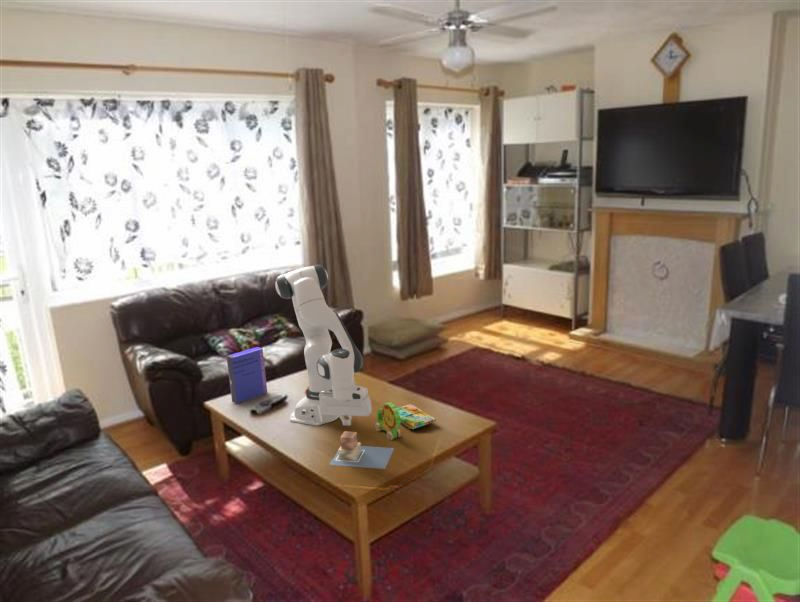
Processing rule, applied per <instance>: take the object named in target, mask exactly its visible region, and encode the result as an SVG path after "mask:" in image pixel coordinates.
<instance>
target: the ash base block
mask: <svg viewBox="0 0 800 602" xmlns="http://www.w3.org/2000/svg"><path fill="white" fill-rule="evenodd" d="M357 443H358V444H357V445H356V447H355V448H354V450H348V449H341V445H340V447H339V448H338V449H337V452H338V453H339V459H342V460H357V458H358V457H359V455H360V453H361V446H362V443H361V442H360V441H359V442H358V441H357Z"/></svg>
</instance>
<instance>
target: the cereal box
mask: <svg viewBox="0 0 800 602" xmlns="http://www.w3.org/2000/svg"><path fill="white" fill-rule="evenodd" d="M226 363H227V371H228V372H227V373H228V380H229V388H230V396H231V402H232V403H234V404H241V403H244V402H246V401H248V400H252V399H255V398H257V397H260V396H263V395H265V394H268V389H267V388H268V387H267V385H268V384H267V376H266V368H265V367H266V366H265V357H264V350H263V348H262V347H259V346H255V347H253V348H249V349H246V350H242V351H240V352H236V353H235V352H234V353H232V354H229V355H226Z"/></svg>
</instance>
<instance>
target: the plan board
mask: <svg viewBox="0 0 800 602" xmlns="http://www.w3.org/2000/svg"><path fill="white" fill-rule="evenodd" d="M394 450H395V447H382V446H367V445H361V453H360V455H359V457H358V458H357V460H342V459H339V453H338V451H337V452H336V453H335V455H334V456H333V458H332V459H331V460H330V463H329V464H328V465H329V466H338V467H339V466H341V467H354V468H369V469H379V470H380V469H381V470H385V469H386V468H387V467H388V463H389V461H390V460H391V457H392V455H393V452H394Z"/></svg>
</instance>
